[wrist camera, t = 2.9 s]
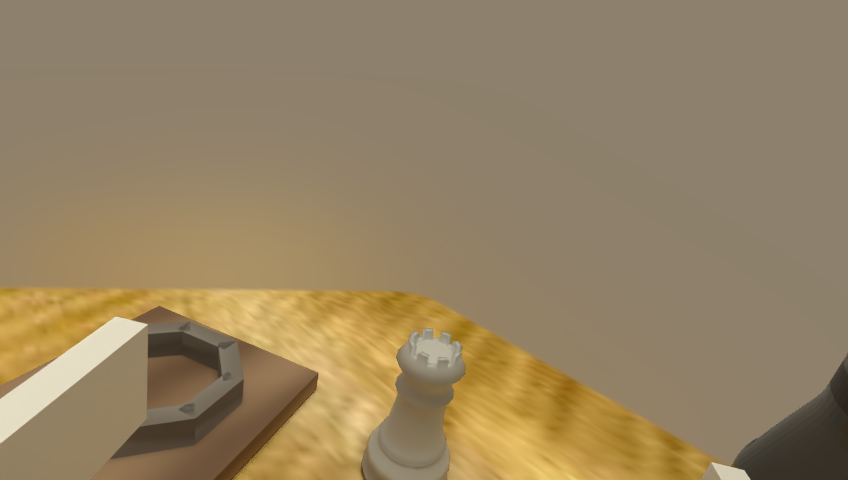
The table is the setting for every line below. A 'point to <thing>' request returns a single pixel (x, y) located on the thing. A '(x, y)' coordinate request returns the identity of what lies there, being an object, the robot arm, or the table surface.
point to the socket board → (202, 402)
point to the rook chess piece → (417, 413)
